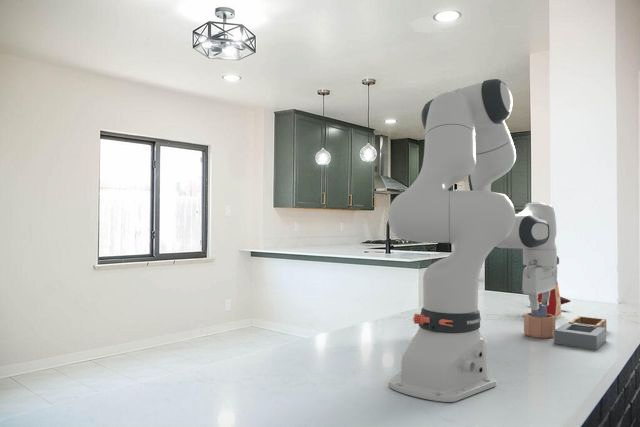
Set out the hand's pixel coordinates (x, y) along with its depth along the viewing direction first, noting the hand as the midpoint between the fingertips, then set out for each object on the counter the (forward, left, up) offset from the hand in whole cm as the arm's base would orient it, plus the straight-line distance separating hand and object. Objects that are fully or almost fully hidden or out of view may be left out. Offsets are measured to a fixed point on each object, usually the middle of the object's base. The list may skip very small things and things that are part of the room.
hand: (540, 307), depth 140 cm
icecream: (+46, +10, -8) cm, 48 cm away
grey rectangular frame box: (-2, -11, -8) cm, 13 cm away
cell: (0, 0, -7) cm, 7 cm away
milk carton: (+31, +7, -8) cm, 33 cm away
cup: (0, 0, -8) cm, 8 cm away
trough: (+12, -10, -8) cm, 17 cm away
